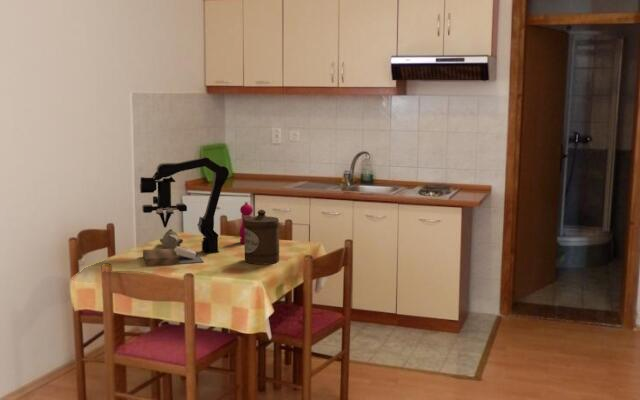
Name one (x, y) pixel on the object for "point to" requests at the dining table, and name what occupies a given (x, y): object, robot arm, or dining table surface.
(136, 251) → the dining table surface
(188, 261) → the mat
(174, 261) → the deck
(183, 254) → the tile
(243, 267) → the dining table surface
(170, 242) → the ceramic sculpture
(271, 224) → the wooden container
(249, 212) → the pepper mill
